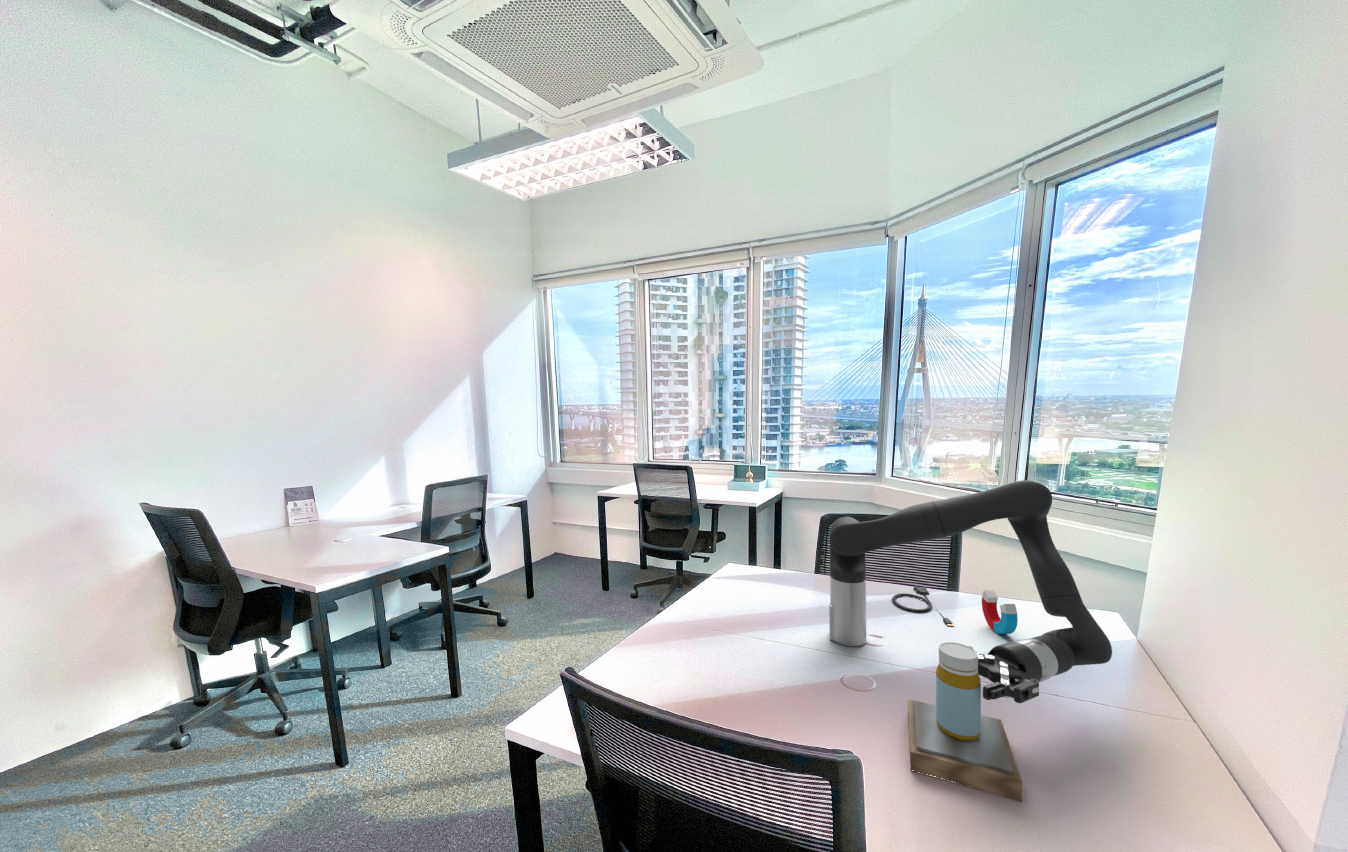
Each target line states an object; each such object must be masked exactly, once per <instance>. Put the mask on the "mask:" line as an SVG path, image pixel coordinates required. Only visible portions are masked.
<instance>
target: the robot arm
mask: <svg viewBox="0 0 1348 852" xmlns="http://www.w3.org/2000/svg"><path fill="white" fill-rule="evenodd" d="M1052 503H1053V494H1052V492H1051V490H1050V489H1049V488H1048V487H1047V486H1046V485H1044V484H1042V483H1040V482H1038V481H1035V480H1028V479H1027V480H1026V479H1025V480H1024V479H1022V480H1016V481H1013V482H1010V483H1006V484H1003V485H1000V486H996V487H993V488H990V489H987V490H984V491H980V492H975V493H971V494H965V495H959V496H953V497H949V498H945V499H938V500H933V501H927V502H923V503H918V504H913V505H912V506H908V507H906V508H905V507H904V508H902V509H900V510H898V511H896V512H894V513H891V514H890V515H889V514H888V515H887V516H885V517H881V518H878V519H877V518H876V519H874V520H868V521H867V520H866V521H859V520H857V519H855V518H854V517H852V516H851V517H850V516H841V517H839V518H837V519H836V520H834V521H833V523H832V524H831V526H830V529H829V537H828V538H829V539H828V540H829V586H830V587H829V591H830V593H829V595H830V596H829V597H830V599H829V600H830V603H829V607H828V613H829V619H828V620H829V621H828V623H829V626H828V627H829V641H833V642H835V643H837V644H839V645H842V646H847V647H860V646H864V645H865V644H866V643H867V575H866V574H867V571H866V568H867V567H866V553H869V552H872V551H877V550H880V549H883V548H887V547H891V546H899V545H906V544H907V545H908V544H914V543H918V542H925V541H933V540H939V539H943V538H948V537H951V536H955V535H958V534H961V533H964V532H966V531H969V530H971V529H973V528H976V526H979V525H982V524H985V523H987V522H990V521H996V520H1002V519H1007V521H1008V522H1009V524H1010V525H1011V527H1012V529H1013V531H1014V533H1015V535H1016V536H1017V537H1016V538H1018V540H1019V543H1020V544H1021V547H1022V550H1023V552H1024V554H1025V556H1026V559H1027V563H1028V565H1029V568H1030V572H1031V575H1032V576H1033V577H1032V578H1033V580H1034V583H1035V584H1034V585H1035V586H1036V589H1037V592H1038V595H1039V598H1040V600H1041V603H1042V606H1043V609H1044V610H1045V612H1046V613H1047V614H1048V615H1050V616H1052V617H1053V616H1054V617H1060V618H1062V617H1063V618H1066V619H1067V620H1068V622H1069V623H1070V625H1071V627H1066V628H1060V629H1053V630H1051V631H1048V632H1045V633H1043V634H1041V635H1038V636H1035V637H1030V638H1024V639H1023V638H1022V639H1016V640H1014V641H1011V642H1006V643H1002V644H999V645H996V646H994V647H992V648H991V650H990V651H988V652H987V653H978V674H979V677H981V676H982V677H983V678H985V679H987V680H989V681H990V682H992V683H989V684H986V685H984V686H983V687H982V697H983V699H985V700H987V701H990V700H998V699H1001V698H1005V699H1010V698H1011V699H1013V701H1014V702H1016V703H1017V704H1023V703H1025V702H1027V701H1028V702H1029V701H1030V700H1032V699H1035V698H1037V697H1038V696H1040V683H1042V682H1045V681H1046V680H1049V679H1051V678H1052V677H1055V676H1058V675H1061V674H1064V673H1066V672H1068V671H1070V670H1071V669H1072V668H1073V667H1075V666H1089V665H1103V664H1106V663H1108V662H1110V661H1111V659H1112V655H1113V648H1112V644H1111V641H1110V640H1109V638H1108V636H1107V635H1106V633H1105V632H1104V630H1103V629H1102V628H1101V626H1100V625H1099V624H1098V623H1097V621H1096V620H1095V618H1094V617H1093V615H1092V614H1091V612H1090V611H1089V610H1088V608H1087V607H1086V606H1085V604H1084V602H1083V599H1082V596H1081V594H1080V592H1079V589H1078V587H1077V584H1076V581H1075V579H1074V577H1073V576H1074V575H1072V572H1071V571H1070V568H1069V567H1068V565H1067V563H1066V562H1065V560H1064V558H1062V556H1061V554H1060V553H1059V551H1058V549H1057V547H1056V545H1055V543H1054V541H1053V539H1052V536H1051V533H1050V528H1049V523H1048V517H1047V516H1048V514H1049V512H1050V510H1051V507H1052V505H1053V504H1052ZM967 646H968V647H970V648H972V649H974V647H973V646H971V645H967Z"/></svg>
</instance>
